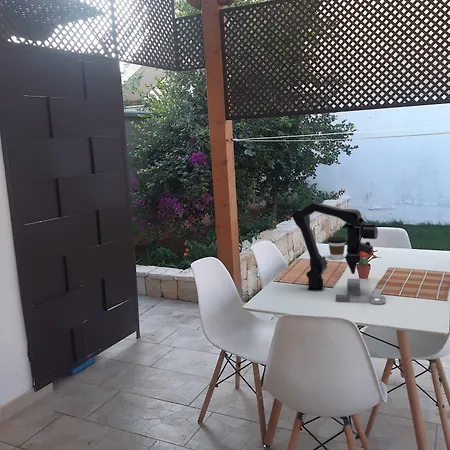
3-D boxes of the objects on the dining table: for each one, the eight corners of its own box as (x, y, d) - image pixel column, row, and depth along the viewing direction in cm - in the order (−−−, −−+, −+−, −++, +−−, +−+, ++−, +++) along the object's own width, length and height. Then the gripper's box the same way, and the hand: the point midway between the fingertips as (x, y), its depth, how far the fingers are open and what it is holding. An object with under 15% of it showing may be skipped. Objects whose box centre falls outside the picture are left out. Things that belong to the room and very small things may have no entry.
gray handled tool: (335, 302, 204) (335, 290, 203) (336, 297, 211) (336, 286, 210) (386, 305, 198) (386, 292, 197) (385, 299, 205) (385, 287, 204)
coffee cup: (323, 258, 282) (323, 238, 280) (338, 255, 286) (338, 236, 284) (335, 261, 272) (335, 241, 270) (350, 258, 277) (350, 239, 275)
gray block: (347, 294, 214) (347, 282, 213) (347, 291, 219) (347, 278, 218) (360, 295, 212) (360, 282, 211) (360, 291, 218) (360, 279, 217)
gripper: (372, 242, 200) (372, 277, 203) (371, 233, 218) (371, 266, 221) (345, 242, 204) (345, 276, 206) (347, 233, 221) (347, 265, 224)
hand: (353, 271), depth 214 cm, fingers open, 9 cm apart
